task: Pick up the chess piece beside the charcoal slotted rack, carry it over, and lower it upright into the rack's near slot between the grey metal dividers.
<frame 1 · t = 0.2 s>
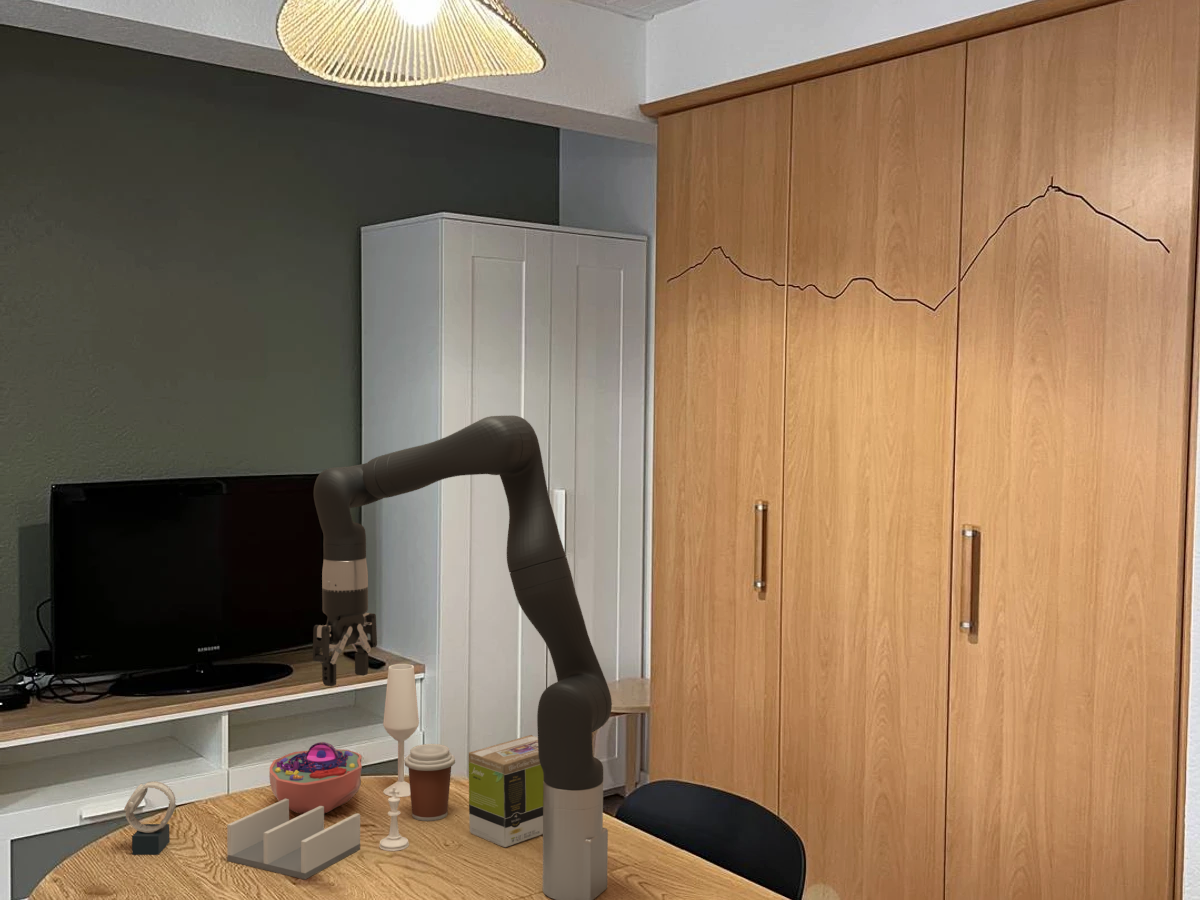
hand: (346, 680, 206), 28 cm above the table, fingers open, 8 cm apart
coffee cup: (429, 815, 221), on the table
champagne flute: (401, 791, 233), on the table
slot rack: (294, 854, 201), on the table
chess piece: (394, 846, 206), on the table
cell model: (316, 809, 223), on the table
tea box: (518, 831, 214), on the table
watch: (150, 849, 203), on the table
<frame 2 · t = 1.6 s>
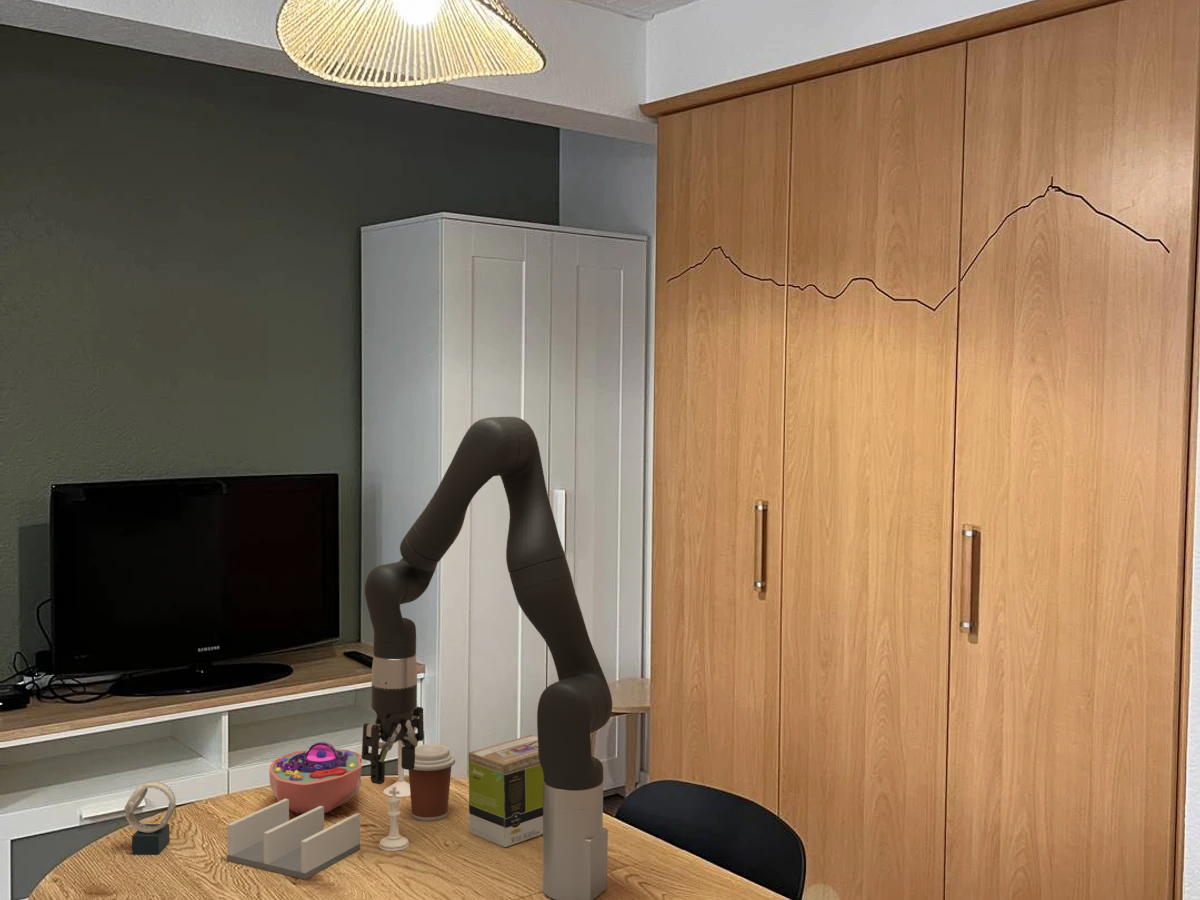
hand: (393, 775, 205), 12 cm above the table, fingers open, 8 cm apart
nothing on the table moved.
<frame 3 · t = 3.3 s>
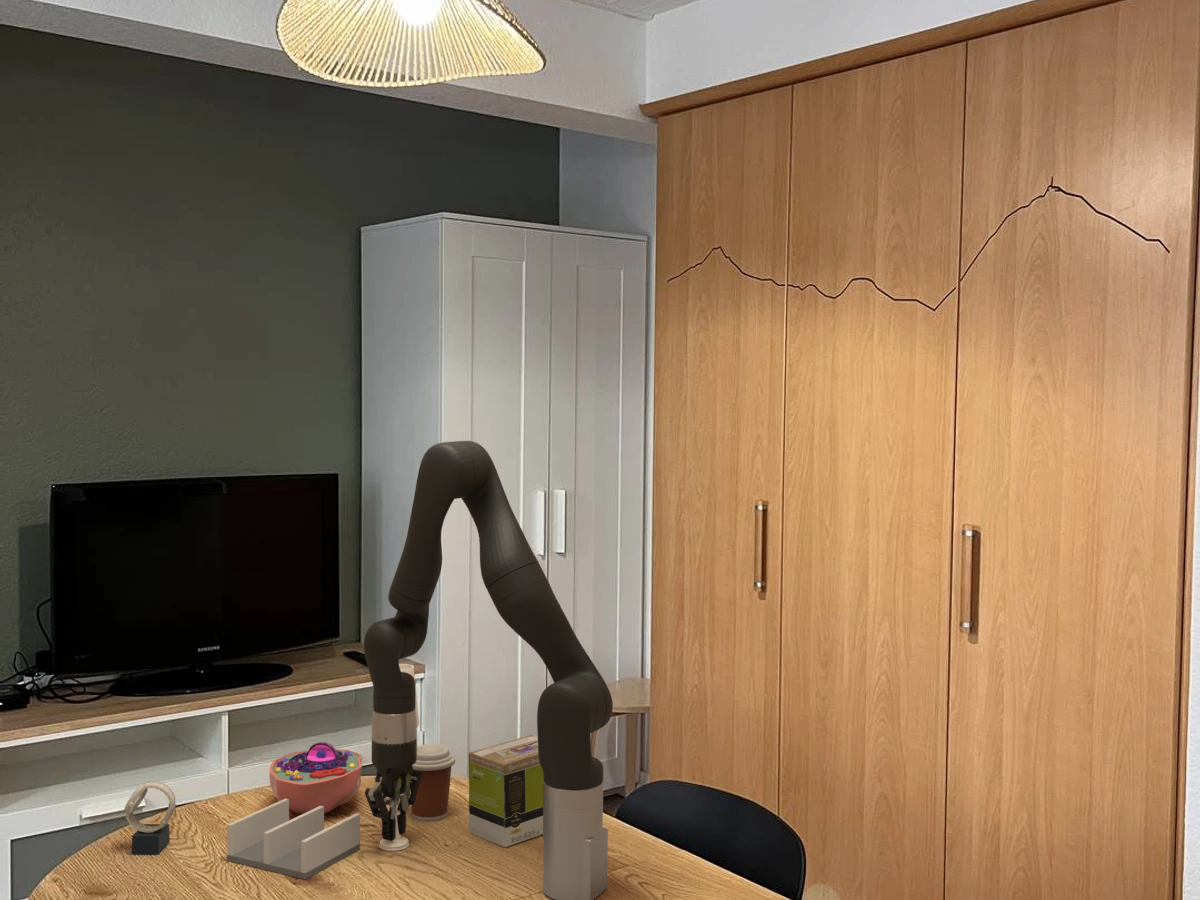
hand: (394, 836, 206), 2 cm above the table, fingers closed on chess piece, 2 cm apart
chess piece: (394, 846, 206), on the table, touching gripper
everything else where it was.
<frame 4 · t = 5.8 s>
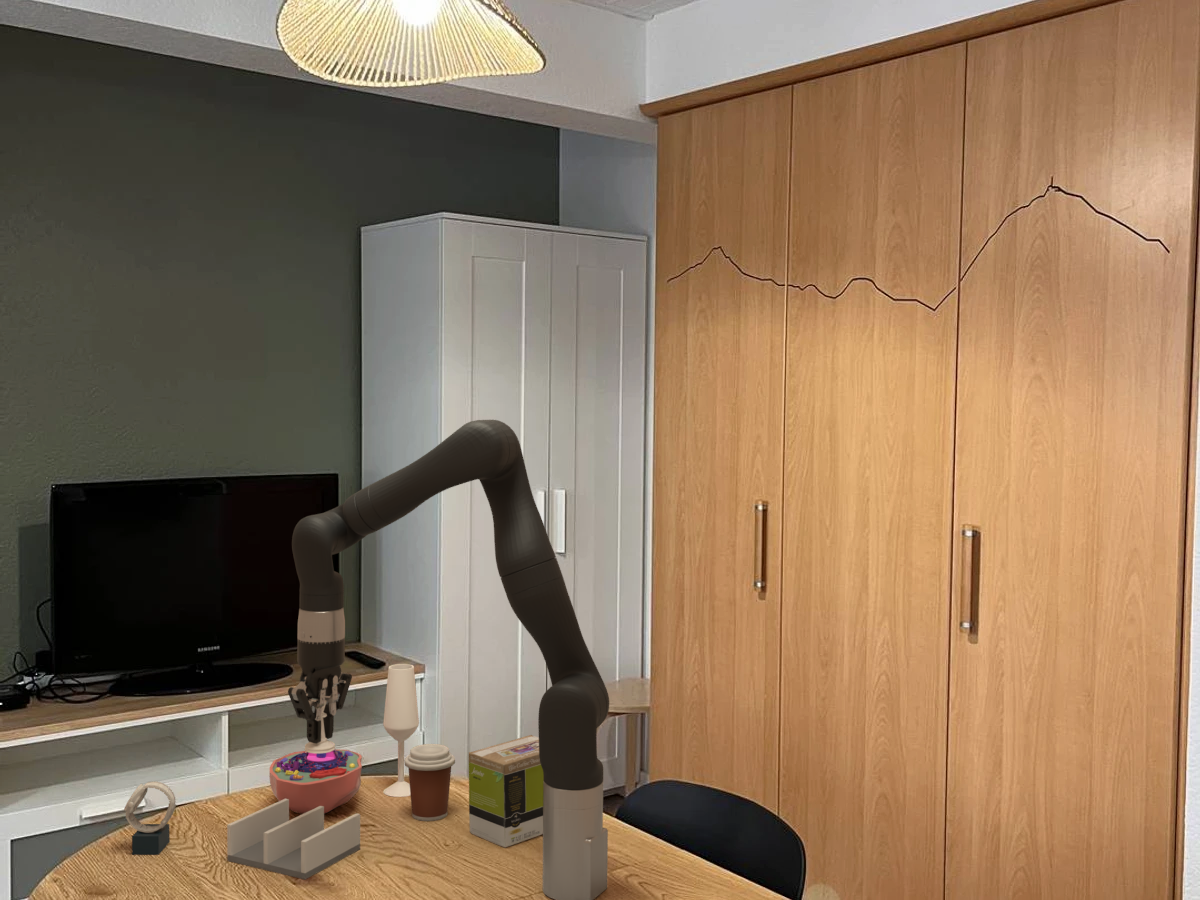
hand: (320, 739, 200), 20 cm above the table, fingers closed on chess piece, 2 cm apart
chess piece: (319, 750, 200), point 18 cm above the table, touching gripper
everything else where it was.
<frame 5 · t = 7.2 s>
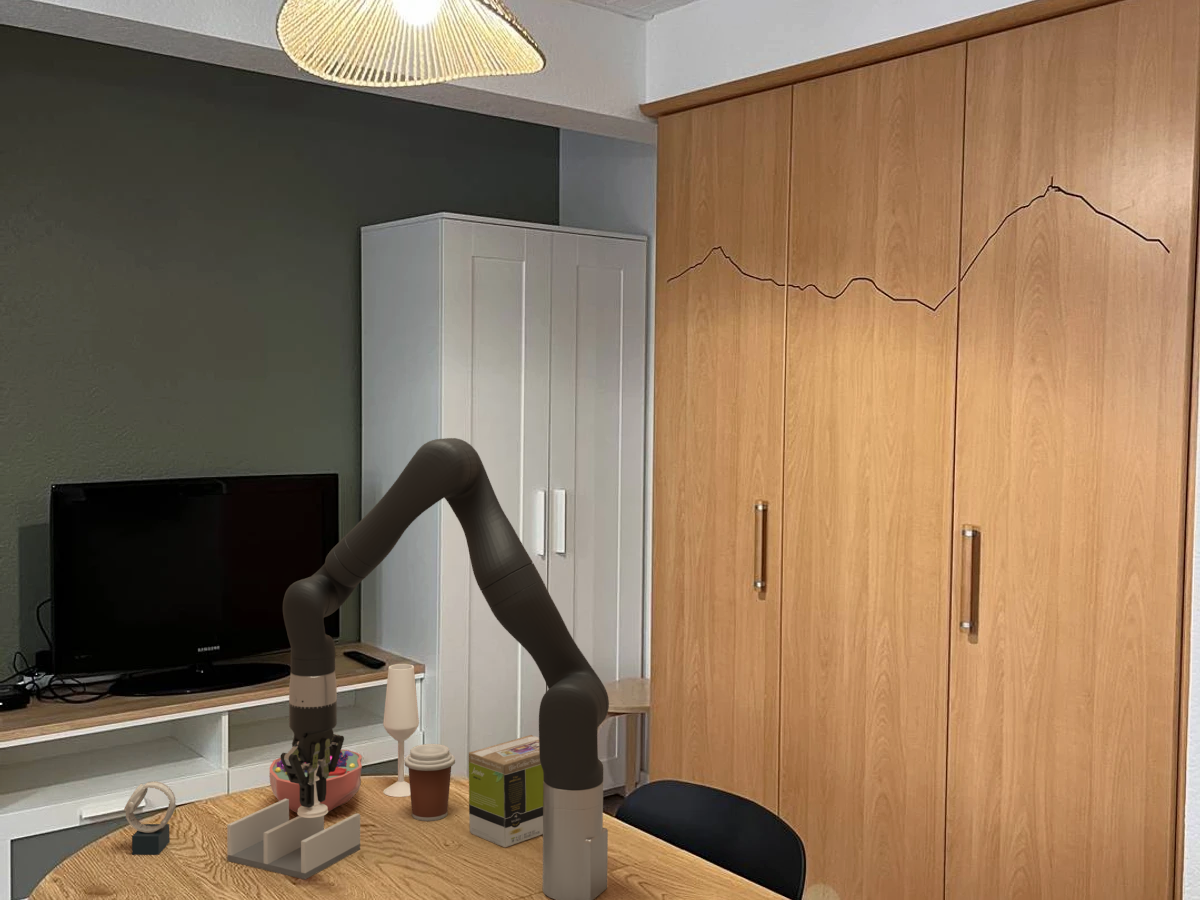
hand: (313, 803, 199), 9 cm above the table, fingers closed on chess piece, 2 cm apart
chess piece: (312, 813, 199), point 8 cm above the table, touching gripper
everything else where it was.
when the fingers open (4 cm above the table, at t = 8.2 s): chess piece drops 2 cm, resting on slot rack.
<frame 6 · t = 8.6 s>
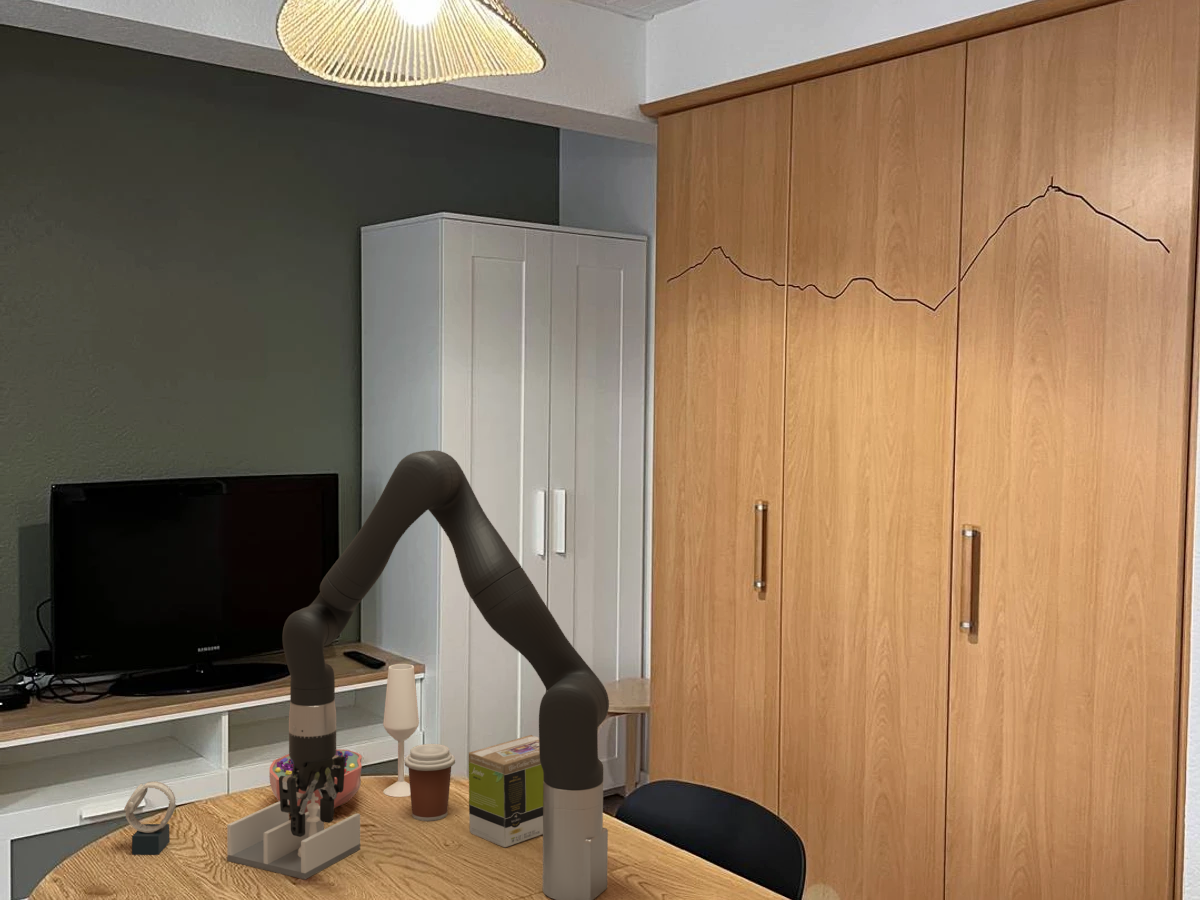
hand: (312, 828, 199), 5 cm above the table, fingers open, 6 cm apart
chess piece: (313, 854, 199), point 1 cm above the table, touching slot rack
everything else where it was.
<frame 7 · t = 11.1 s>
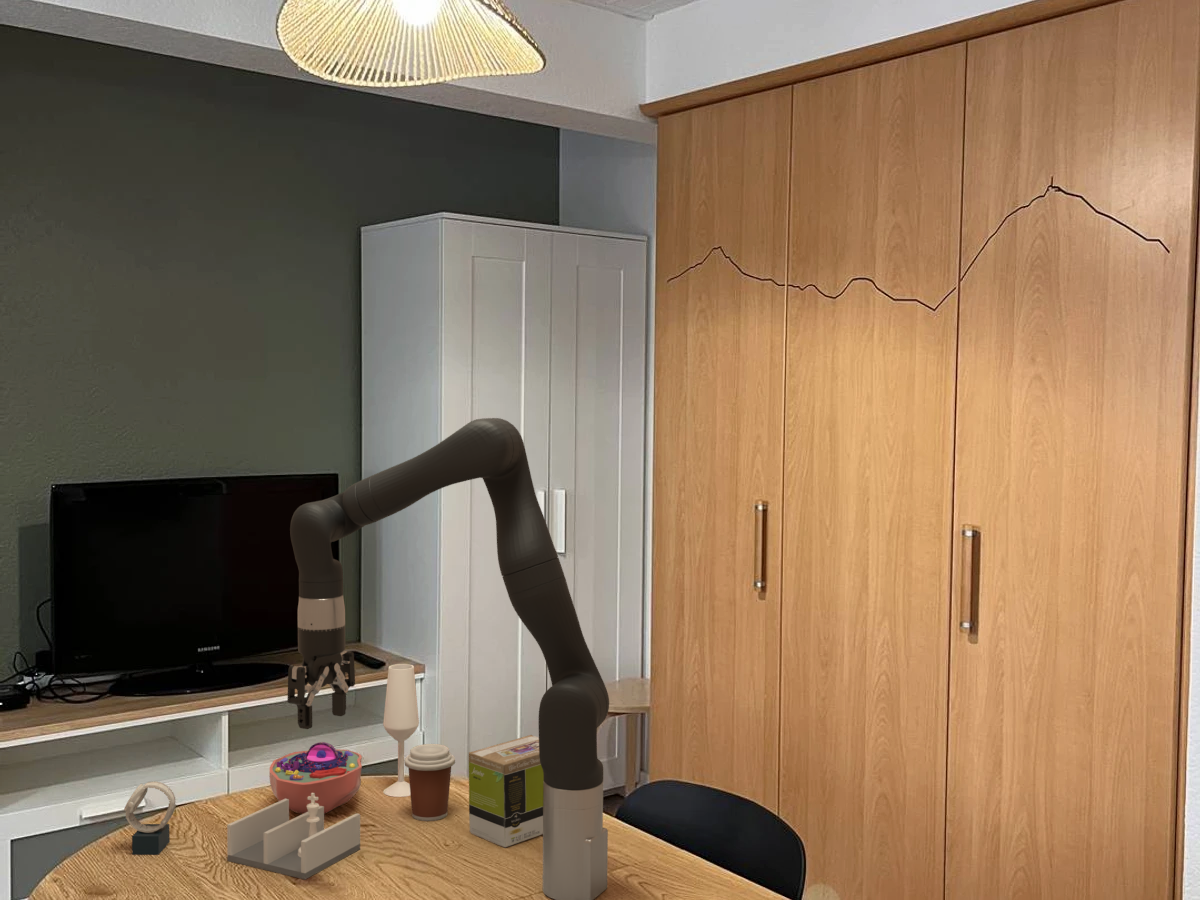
hand: (322, 721, 199), 23 cm above the table, fingers open, 8 cm apart
nothing on the table moved.
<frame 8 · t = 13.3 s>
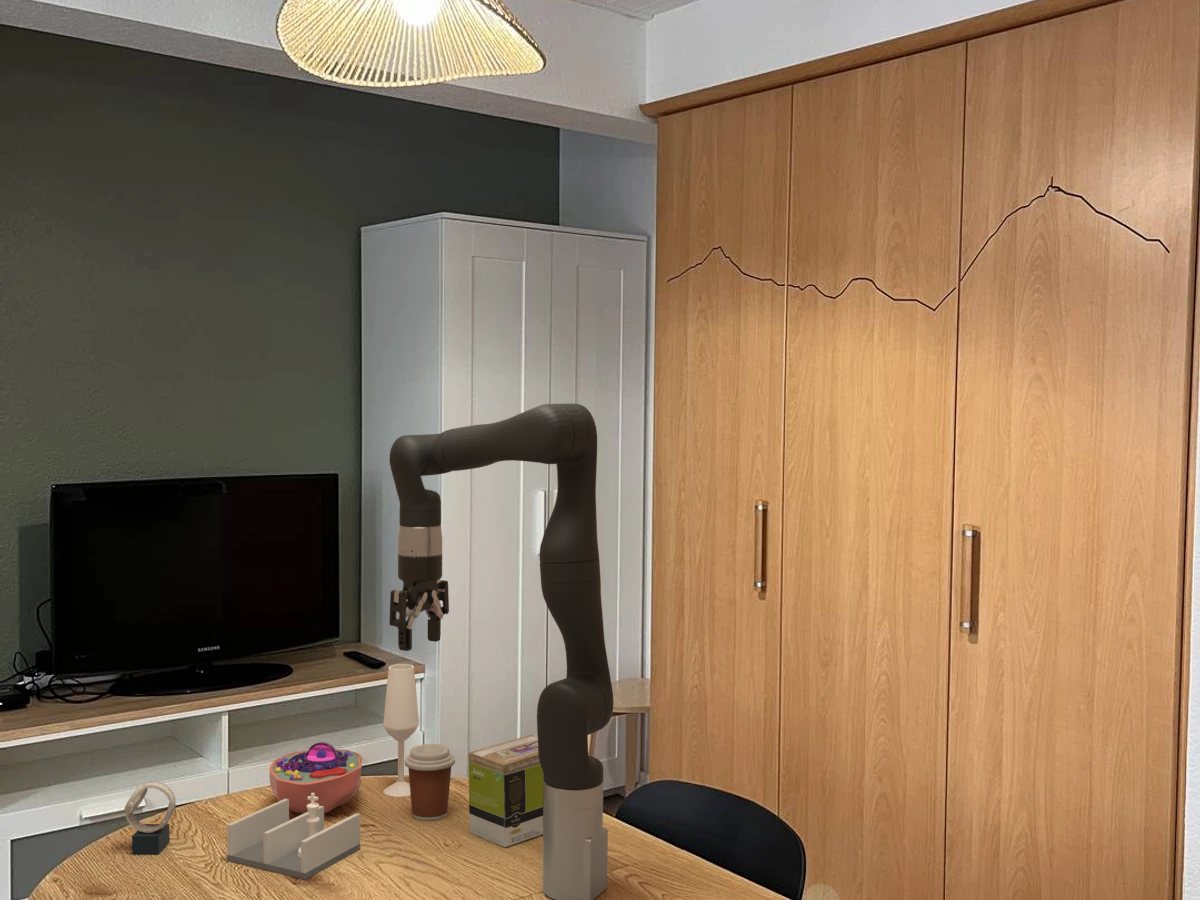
hand: (419, 645, 209), 33 cm above the table, fingers open, 8 cm apart
nothing on the table moved.
at the end: chess piece inside the target area on the slot rack (0.1 cm from its centre), point 0.8 cm above the slot rack's base; chess piece tilted 0°; the gripper is holding nothing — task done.
